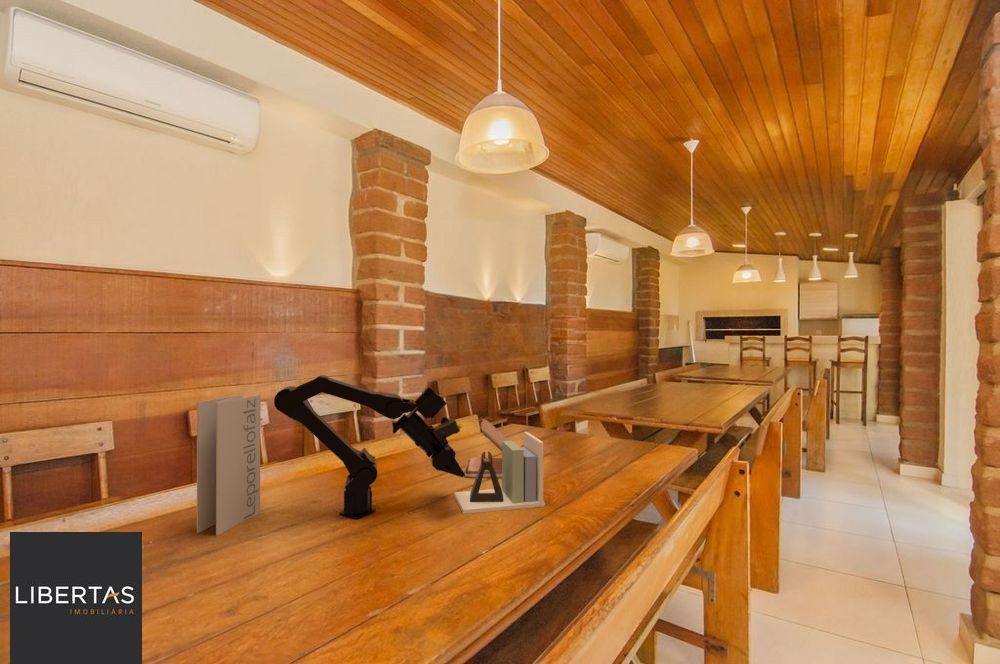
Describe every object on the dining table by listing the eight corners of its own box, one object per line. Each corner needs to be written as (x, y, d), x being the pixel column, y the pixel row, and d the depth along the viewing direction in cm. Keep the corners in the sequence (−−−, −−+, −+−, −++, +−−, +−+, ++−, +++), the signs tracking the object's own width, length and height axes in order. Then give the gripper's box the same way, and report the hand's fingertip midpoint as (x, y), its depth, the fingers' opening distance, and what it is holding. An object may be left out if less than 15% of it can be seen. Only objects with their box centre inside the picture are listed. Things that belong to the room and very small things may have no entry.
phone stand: (502, 494, 135) (502, 451, 135) (503, 501, 129) (503, 456, 129) (470, 494, 135) (470, 451, 135) (469, 502, 129) (469, 457, 129)
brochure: (217, 535, 110) (217, 402, 110) (196, 533, 111) (196, 402, 111) (260, 512, 124) (260, 394, 124) (241, 510, 125) (241, 394, 125)
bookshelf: (463, 513, 123) (463, 447, 123) (454, 495, 137) (454, 435, 137) (544, 506, 129) (545, 442, 129) (528, 489, 142) (528, 431, 142)
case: (528, 479, 153) (529, 428, 153) (462, 478, 153) (462, 428, 153) (526, 462, 173) (526, 417, 173) (467, 462, 174) (468, 417, 174)
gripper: (446, 415, 120) (489, 457, 123) (437, 404, 138) (474, 441, 141) (413, 448, 118) (458, 490, 121) (408, 432, 136) (447, 469, 139)
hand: (460, 470), depth 130 cm, fingers open, 9 cm apart
